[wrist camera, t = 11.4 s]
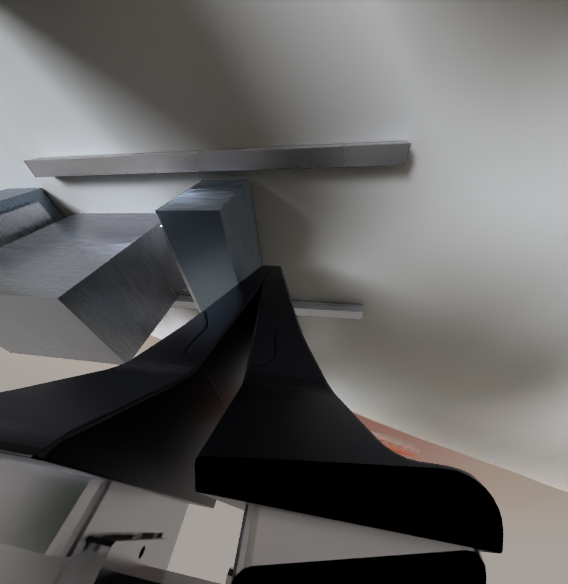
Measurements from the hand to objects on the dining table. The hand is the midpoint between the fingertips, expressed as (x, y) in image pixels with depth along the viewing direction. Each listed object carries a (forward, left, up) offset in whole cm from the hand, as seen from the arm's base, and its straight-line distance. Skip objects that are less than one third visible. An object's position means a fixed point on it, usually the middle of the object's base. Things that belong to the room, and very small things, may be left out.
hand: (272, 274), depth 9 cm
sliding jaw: (+2, +2, -2) cm, 3 cm away
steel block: (+8, 0, -2) cm, 8 cm away
